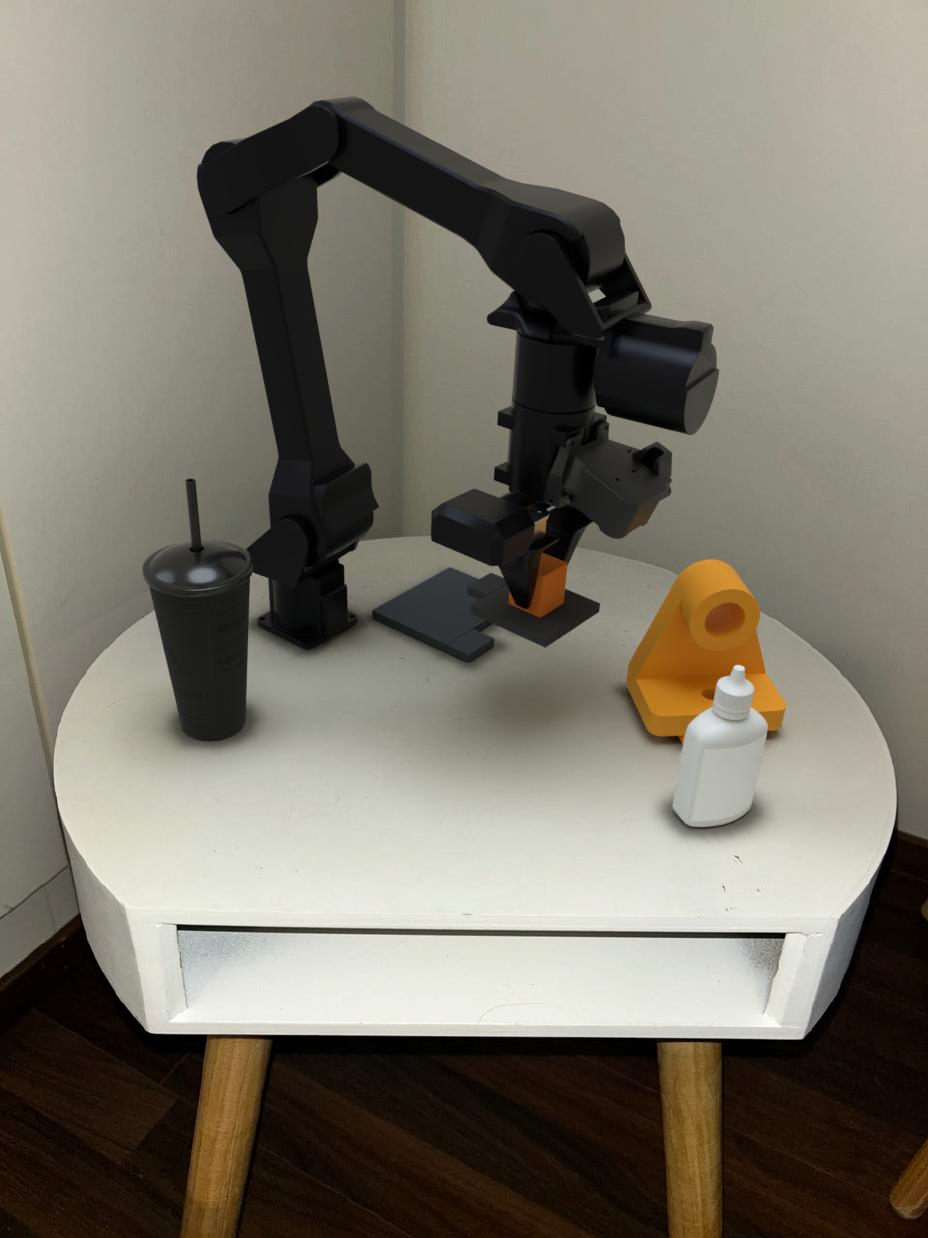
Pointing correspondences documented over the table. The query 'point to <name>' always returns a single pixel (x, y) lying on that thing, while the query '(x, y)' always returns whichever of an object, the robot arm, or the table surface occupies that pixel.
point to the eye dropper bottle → (721, 756)
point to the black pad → (524, 621)
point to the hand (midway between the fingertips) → (535, 598)
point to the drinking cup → (203, 626)
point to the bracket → (700, 651)
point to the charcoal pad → (439, 615)
